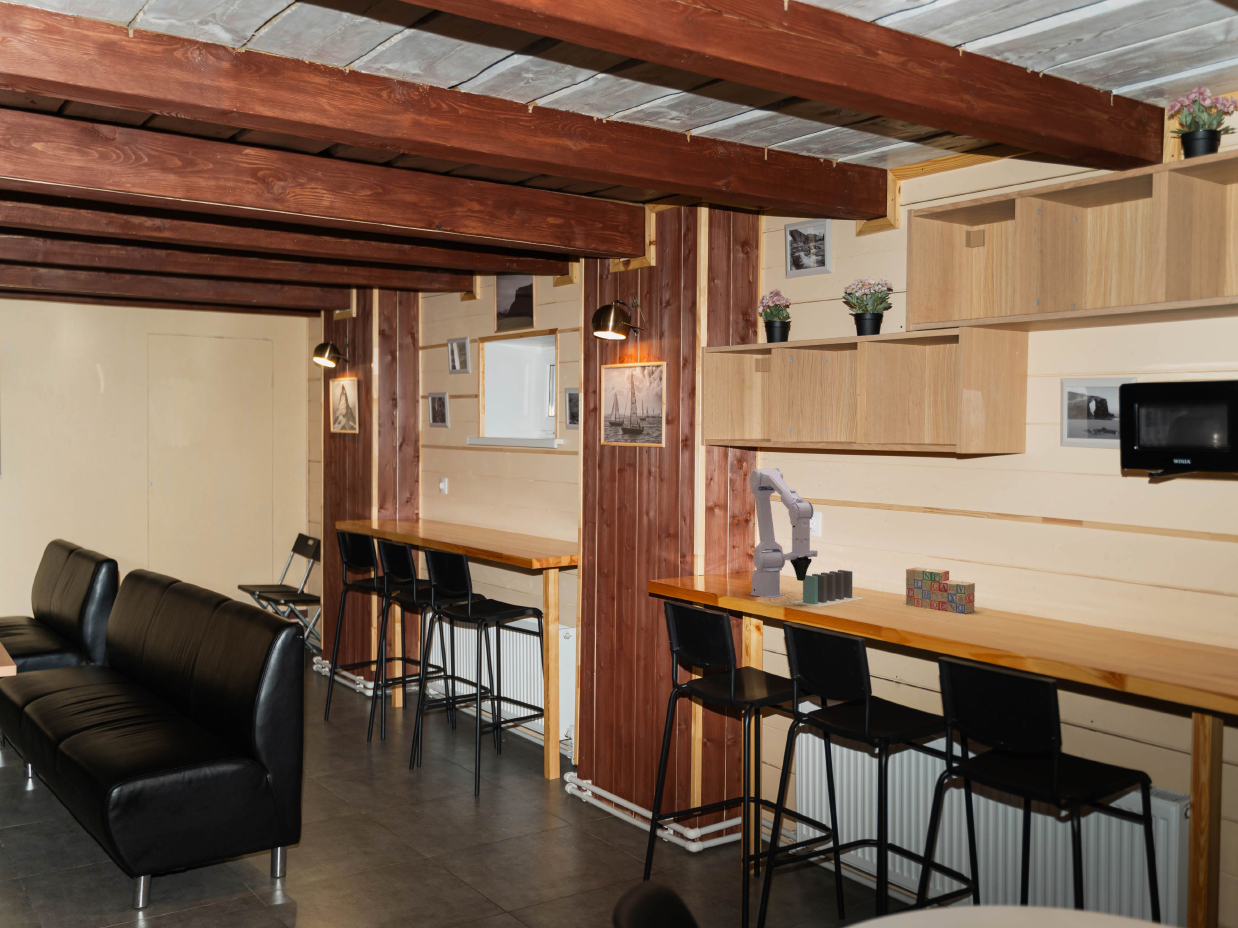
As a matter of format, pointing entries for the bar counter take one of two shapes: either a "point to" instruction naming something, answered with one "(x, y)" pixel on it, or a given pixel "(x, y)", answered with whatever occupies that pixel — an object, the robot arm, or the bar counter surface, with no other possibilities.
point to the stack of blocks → (938, 591)
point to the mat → (829, 601)
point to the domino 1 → (810, 589)
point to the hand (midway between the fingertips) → (800, 580)
